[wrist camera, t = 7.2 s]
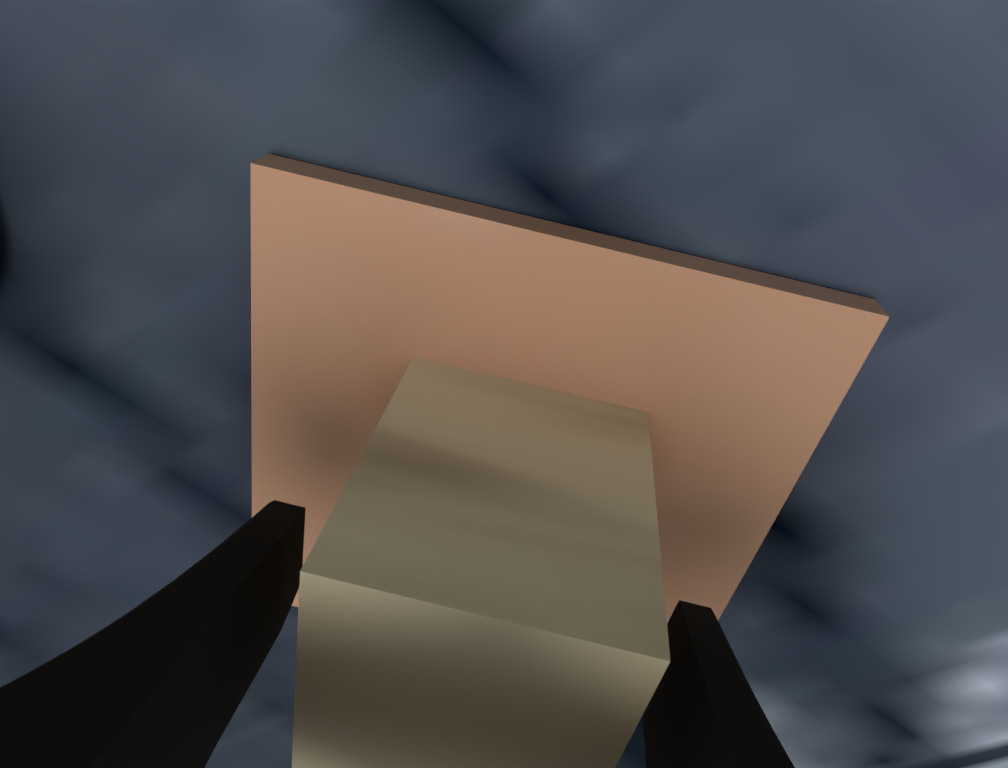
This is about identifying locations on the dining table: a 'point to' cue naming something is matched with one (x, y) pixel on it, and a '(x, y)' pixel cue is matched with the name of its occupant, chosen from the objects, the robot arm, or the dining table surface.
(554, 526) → the block
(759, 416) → the tile
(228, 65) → the dining table surface
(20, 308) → the dining table surface
